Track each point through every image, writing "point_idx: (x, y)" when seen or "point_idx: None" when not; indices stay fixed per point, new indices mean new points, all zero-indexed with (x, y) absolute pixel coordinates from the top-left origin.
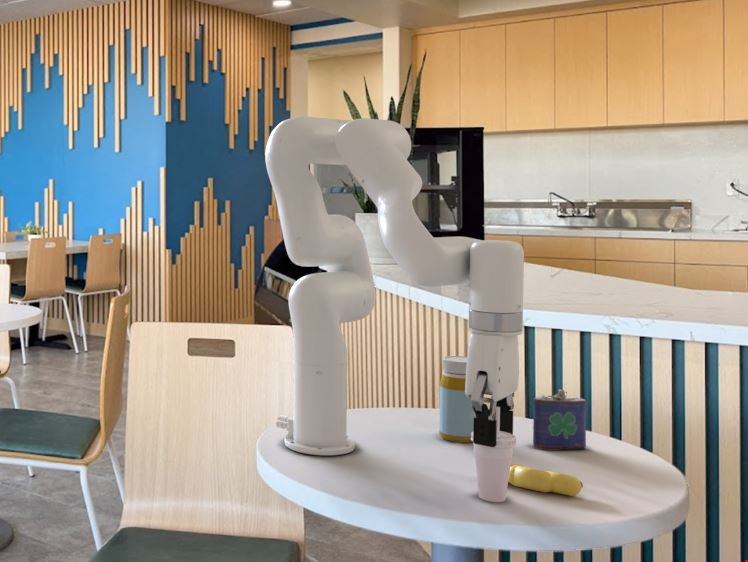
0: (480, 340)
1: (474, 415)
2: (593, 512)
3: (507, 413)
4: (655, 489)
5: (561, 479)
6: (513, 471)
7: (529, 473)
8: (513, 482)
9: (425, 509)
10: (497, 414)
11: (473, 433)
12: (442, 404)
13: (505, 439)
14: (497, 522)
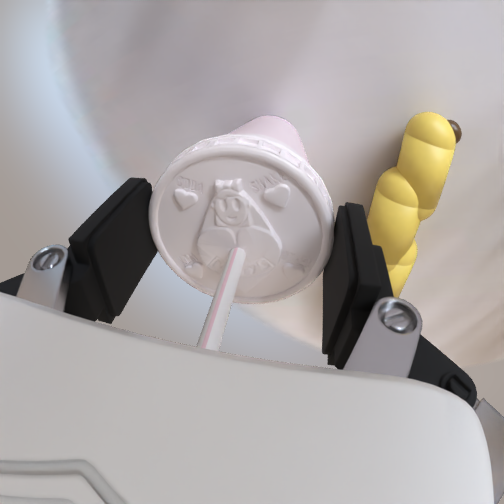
0: None
1: (39, 259)
2: (302, 308)
3: (325, 341)
4: (450, 354)
5: None
6: (386, 194)
7: (377, 232)
8: (377, 182)
9: (98, 59)
10: (204, 326)
11: (112, 194)
12: None
13: (210, 279)
14: None
